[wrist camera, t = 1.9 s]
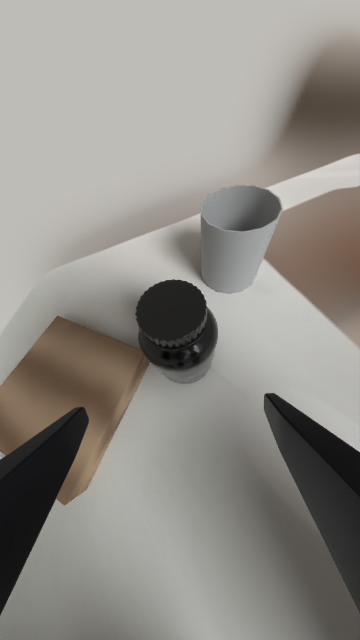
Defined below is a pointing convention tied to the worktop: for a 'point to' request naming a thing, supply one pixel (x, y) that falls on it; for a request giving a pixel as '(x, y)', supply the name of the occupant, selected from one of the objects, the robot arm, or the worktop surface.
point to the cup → (236, 235)
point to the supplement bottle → (177, 330)
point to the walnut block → (70, 393)
